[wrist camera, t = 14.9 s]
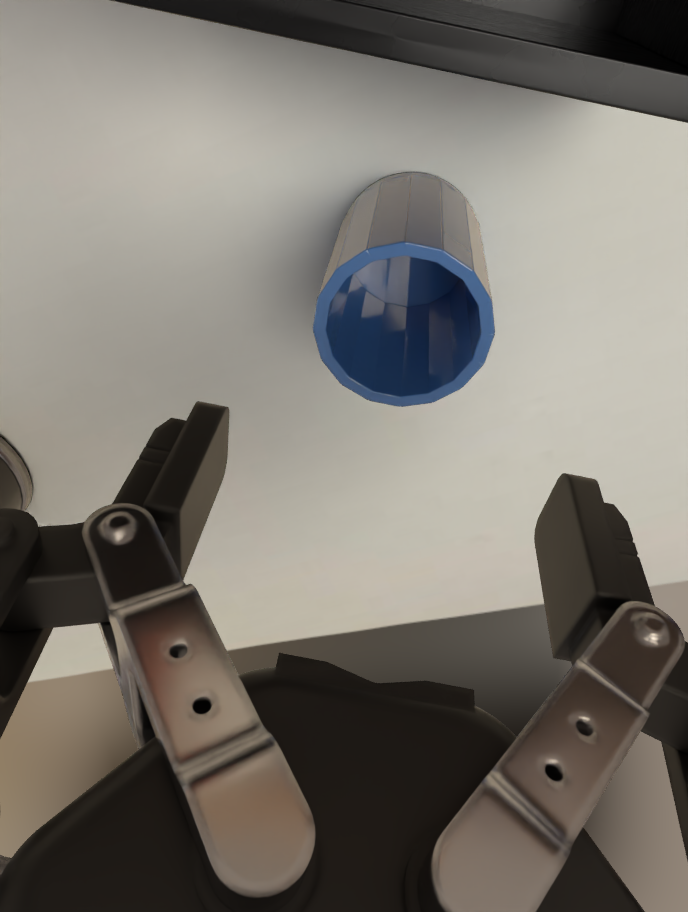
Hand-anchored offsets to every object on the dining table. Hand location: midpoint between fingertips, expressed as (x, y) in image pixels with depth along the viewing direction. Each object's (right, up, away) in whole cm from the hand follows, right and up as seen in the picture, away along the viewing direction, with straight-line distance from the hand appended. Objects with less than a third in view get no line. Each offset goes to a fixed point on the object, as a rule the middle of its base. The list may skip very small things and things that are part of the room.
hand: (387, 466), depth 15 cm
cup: (+2, +9, +12) cm, 16 cm away
